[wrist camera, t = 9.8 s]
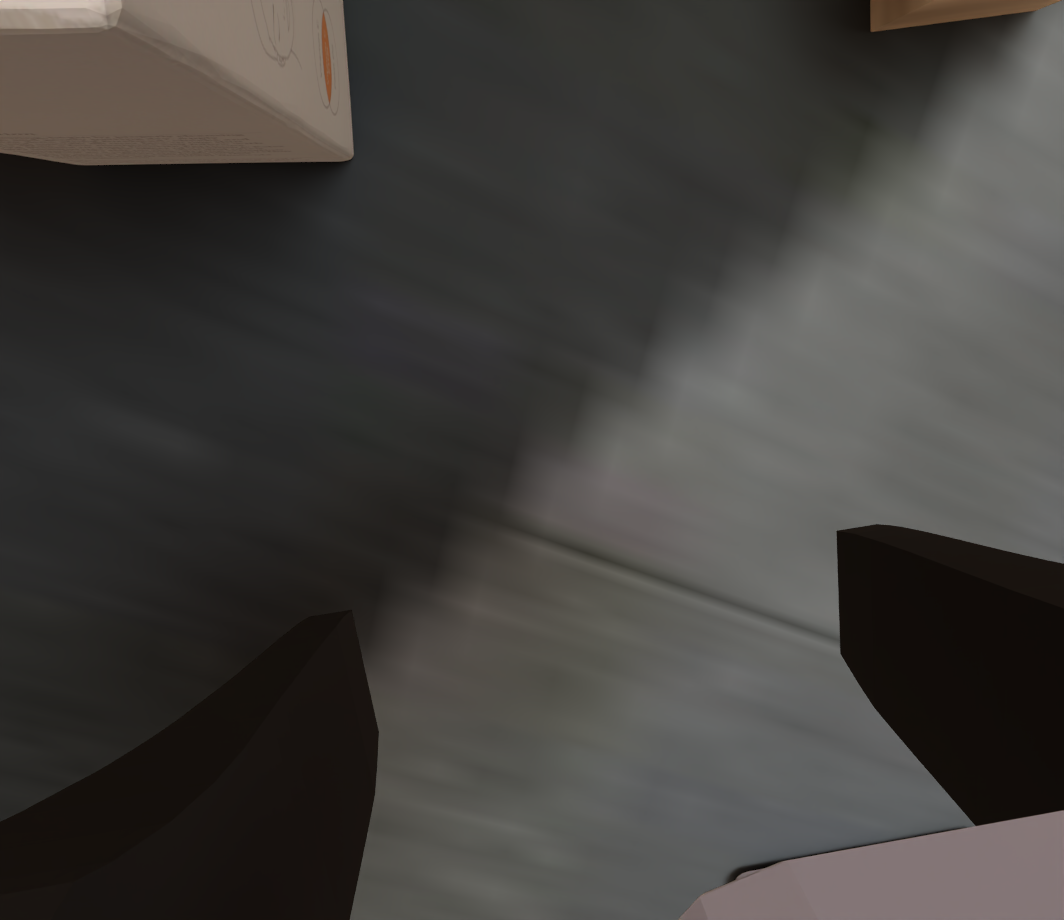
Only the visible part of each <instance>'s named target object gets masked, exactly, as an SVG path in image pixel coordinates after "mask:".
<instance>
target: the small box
mask: <svg viewBox="0 0 1064 920" xmlns="http://www.w3.org/2000/svg"><path fill="white" fill-rule="evenodd" d="M0 153H6V154H14V155H20V156H26V157H32V158H38V159H44V160H50V161H56V162H62V163H69V164H75V165H129V164H190V163H262V162H340V161H347V160H350V159H352V157H353V155H354V151H353V135H352V119H351V103H350V90H349V76H348V63H347V49H346V37H345V24H344V11H343V0H0Z"/></svg>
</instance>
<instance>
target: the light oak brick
mask: <svg viewBox="0 0 1064 920" xmlns="http://www.w3.org/2000/svg"><path fill="white" fill-rule="evenodd" d="M1058 1H1061V0H870V15H871V32H876V31H883V30H891V29H899V28H906V27H914V26H922V25H929V24H937V23H945V22H953V21H960V20H968V19H976V18H983V17H991V16H999V15H1006V14H1014V13H1022V12H1030V11H1036V10H1038V9H1041V8H1043V7H1046V6H1048V5H1051V4H1053V3H1056V2H1058Z"/></svg>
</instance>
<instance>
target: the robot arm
mask: <svg viewBox="0 0 1064 920" xmlns="http://www.w3.org/2000/svg"><path fill="white" fill-rule="evenodd" d="M837 557H838V588H839V620H840V651H841V655H842V657H843V659H844V660H845V662H846V663H847V665H848V667H849V668H850V670H851V672H852V673H853V675H854V677H855V678H856V680H857V682H858V683H859V685H860V686H861V688H862V689H863V691H864V693H865V694H866V696H867V697H868V699H869V700H870V702H871V703H872V705H873V706H874V708H875V709H876V710H877V711H878V712H879V714H880V715H881V716H882V717H883V719H884V720H885V721H886V722H887V723H888V725H889V726H890V727H891V728H892V729H893V730H894V732H895V733H896V734H897V735H898V736H899V738H900V739H901V740H902V741H903V742H904V743H905V745H906V746H907V747H908V748H909V749H910V750H911V752H912V753H913V754H914V755H915V756H916V757H917V759H918V760H919V761H920V762H921V763H922V764H923V765H924V767H925V768H926V769H927V770H928V771H929V772H930V774H931V775H932V776H933V777H934V778H935V779H936V780H937V782H938V783H939V784H940V785H941V786H942V787H943V789H944V790H945V791H946V792H947V793H948V794H949V796H950V797H951V798H952V799H953V800H954V801H955V802H956V804H957V805H958V806H959V807H960V808H961V809H962V811H963V812H964V813H965V814H966V815H967V816H968V817H969V819H970V820H971V821H972V822H973V823H974V824H975V826H974V827H969V828H963V829H958V830H952V831H947V832H941V833H936V834H930V835H925V836H919V837H914V838H908V839H903V840H897V841H891V842H886V843H880V844H875V845H869V846H864V847H858V848H853V849H847V850H842V851H836V852H831V853H825V854H820V855H814V856H809V857H803V858H797V859H792V860H786V861H781V862H778V863H776V864H774V865H771V866H769V867H766V868H764V869H759V870H753V871H748V872H745V873H742V874H741V875H739V876H738V877H737V878H736V880H735V881H732V882H730V883H727V884H725V885H722V886H720V887H717V888H715V889H713V890H710V891H708V892H705V893H703V894H702V895H701V896H699V897H698V899H697V900H696V901H695V902H694V903H693V904H692V905H691V906H690V907H689V908H688V909H687V910H686V912H685V913H684V914H683V915H682V916H681V917H680V918H679V919H678V920H1064V564H1062V563H1057V562H1052V561H1047V560H1043V559H1038V558H1034V557H1029V556H1025V555H1020V554H1016V553H1012V552H1008V551H1003V550H999V549H995V548H991V547H987V546H982V545H978V544H974V543H970V542H966V541H962V540H958V539H954V538H949V537H945V536H941V535H937V534H932V533H928V532H924V531H919V530H914V529H909V528H904V527H898V526H891V525H879V524H876V525H870V526H864V527H858V528H852V529H845V530H839V531H837ZM378 736H379V731H378V727H377V722H376V718H375V713H374V709H373V704H372V700H371V695H370V691H369V686H368V682H367V677H366V673H365V668H364V664H363V659H362V655H361V650H360V646H359V641H358V637H357V632H356V628H355V623H354V619H353V614H352V610H348V611H342V612H336V613H330V614H324V615H318V616H312V617H308V618H307V619H305V620H303V621H302V622H300V623H299V624H298V625H296V626H295V627H294V628H292V629H291V630H290V631H289V632H287V633H286V634H285V635H284V636H282V637H281V638H280V639H279V640H278V641H276V642H275V643H274V644H273V645H272V646H270V647H269V648H268V649H267V650H266V651H264V652H263V653H262V654H261V655H260V656H258V657H257V658H256V659H255V660H254V661H252V662H251V663H250V664H249V665H248V666H246V667H245V668H244V669H243V670H242V671H240V672H239V673H238V674H237V675H235V676H234V677H233V678H232V679H231V680H229V681H228V682H227V683H226V684H224V685H223V686H222V687H220V688H219V689H218V690H216V691H215V692H214V693H212V694H211V695H210V696H208V697H207V698H206V699H204V700H203V701H202V702H201V703H199V704H198V705H197V706H195V707H194V708H193V709H191V710H190V711H189V712H187V713H186V714H185V715H183V716H182V717H181V718H179V719H178V720H177V721H175V722H174V723H172V724H171V725H170V726H168V727H167V728H165V729H164V730H162V731H161V732H159V733H158V734H156V735H155V736H153V737H152V738H150V739H149V740H147V741H146V742H144V743H143V744H141V745H140V746H138V747H136V748H135V749H133V750H132V751H130V752H128V753H127V754H125V755H124V756H122V757H120V758H119V759H117V760H115V761H114V762H112V763H111V764H109V765H107V766H106V767H104V768H102V769H100V770H99V771H97V772H95V773H93V774H92V775H90V776H88V777H86V778H84V779H82V780H80V781H78V782H76V783H75V784H73V785H71V786H69V787H67V788H65V789H63V790H61V791H60V792H58V793H56V794H54V795H52V796H50V797H48V798H46V799H45V800H43V801H41V802H39V803H37V804H35V805H33V806H31V807H30V808H28V809H26V810H24V811H22V812H20V813H18V814H16V815H14V816H12V817H10V818H7V819H5V820H3V821H1V822H0V920H350V915H351V910H352V905H353V900H354V895H355V891H356V886H357V881H358V876H359V871H360V866H361V862H362V857H363V852H364V847H365V842H366V837H367V832H368V827H369V822H370V817H371V812H372V807H373V801H374V796H375V787H376V773H377V756H378Z"/></svg>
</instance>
